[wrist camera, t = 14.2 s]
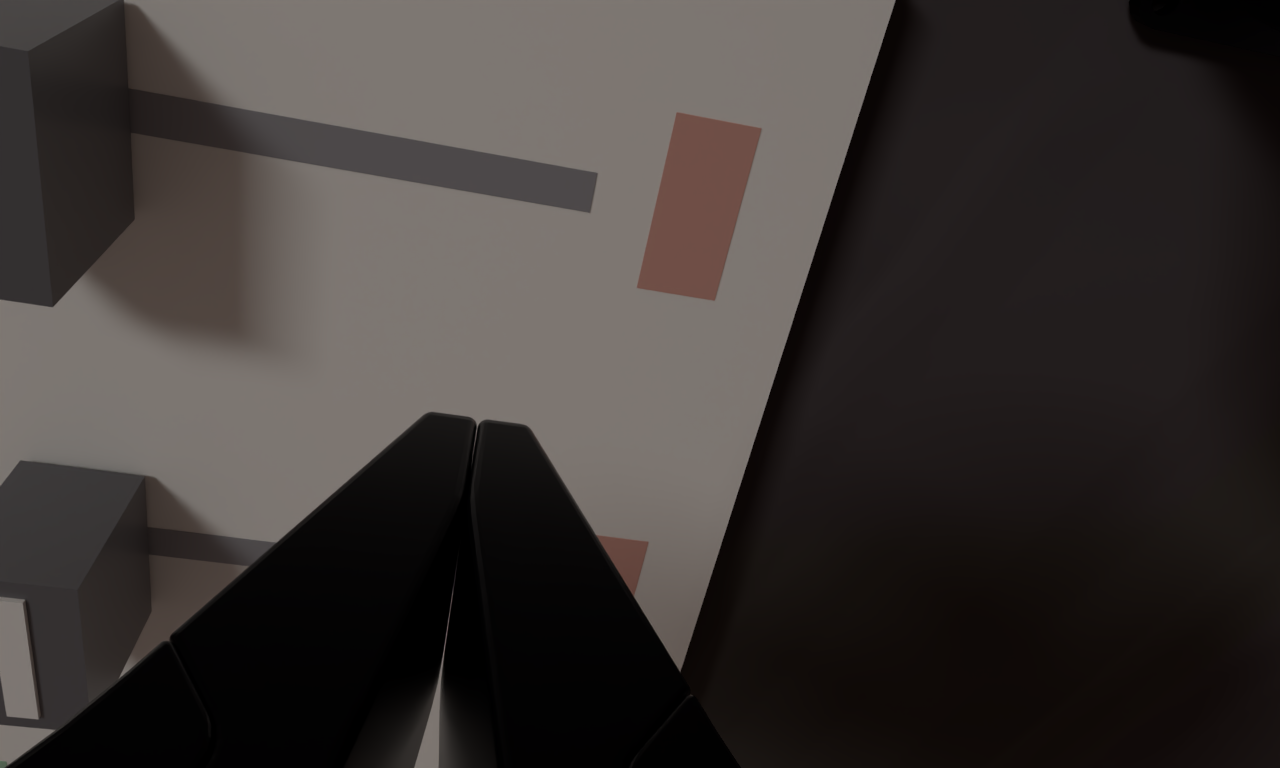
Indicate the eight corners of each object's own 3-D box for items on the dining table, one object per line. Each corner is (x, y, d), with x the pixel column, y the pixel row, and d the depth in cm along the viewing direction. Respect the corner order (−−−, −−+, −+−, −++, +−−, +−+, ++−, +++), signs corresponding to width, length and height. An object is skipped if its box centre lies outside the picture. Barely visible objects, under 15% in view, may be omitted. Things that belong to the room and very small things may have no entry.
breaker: (123, -3, 17) (24, 53, 14) (134, 219, 19) (49, 310, 16) (-39, -35, 17) (-177, 16, 14) (-10, 195, 19) (-126, 284, 16)
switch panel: (884, -50, 19) (906, -34, 18) (590, 904, 34) (591, 950, 33) (-340, -322, 16) (-421, -328, 15) (-64, 856, 31) (-91, 904, 30)
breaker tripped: (144, 475, 22) (74, 593, 19) (151, 611, 24) (89, 737, 21) (20, 460, 22) (-71, 577, 19) (38, 598, 24) (-42, 725, 21)
